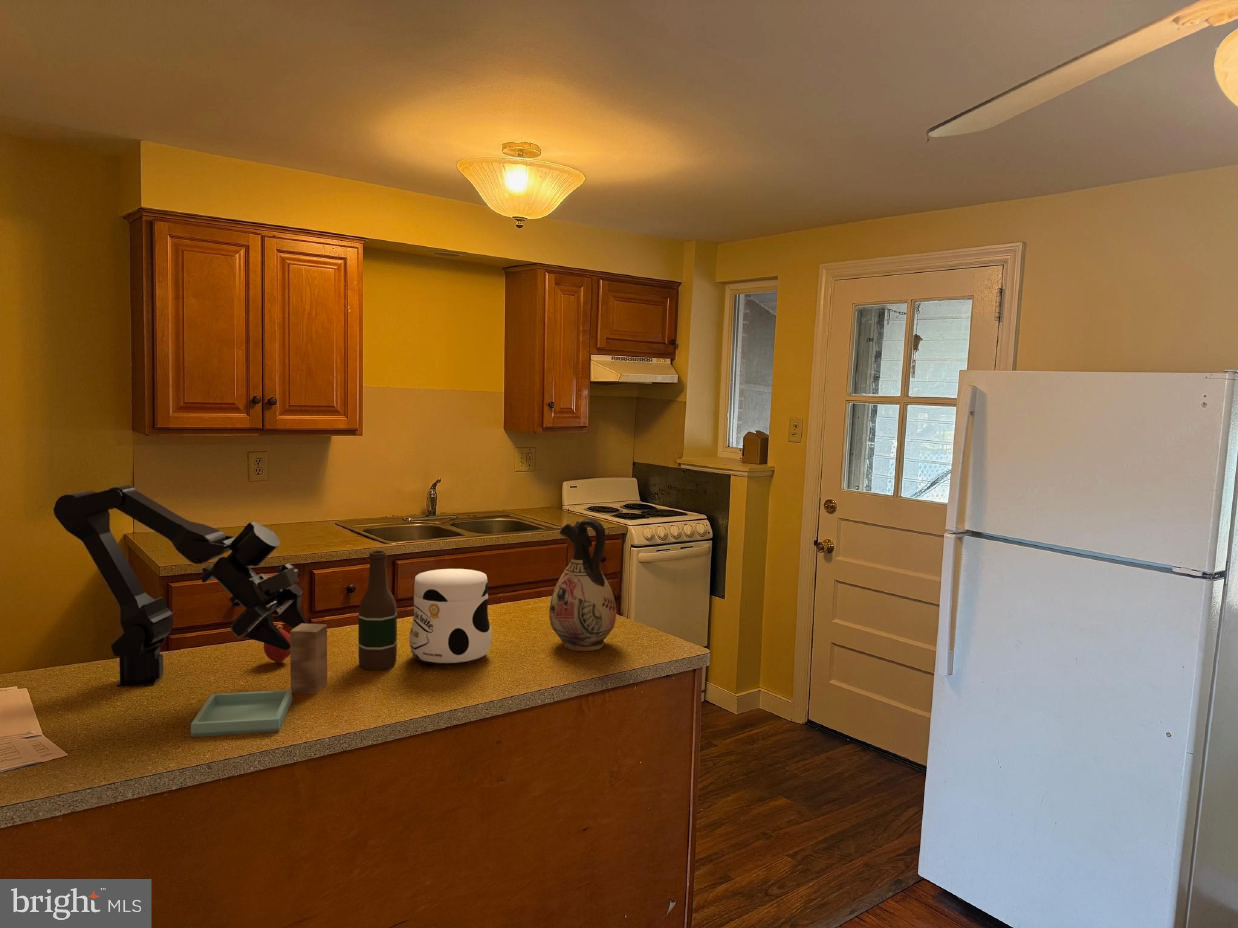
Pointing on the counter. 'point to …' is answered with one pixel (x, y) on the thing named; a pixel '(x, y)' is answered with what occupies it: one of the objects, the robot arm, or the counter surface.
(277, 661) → the onion
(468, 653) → the milk container
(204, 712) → the teal tray
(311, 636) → the walnut block
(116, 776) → the counter surface
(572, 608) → the ceramic jug
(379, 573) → the beer bottle
